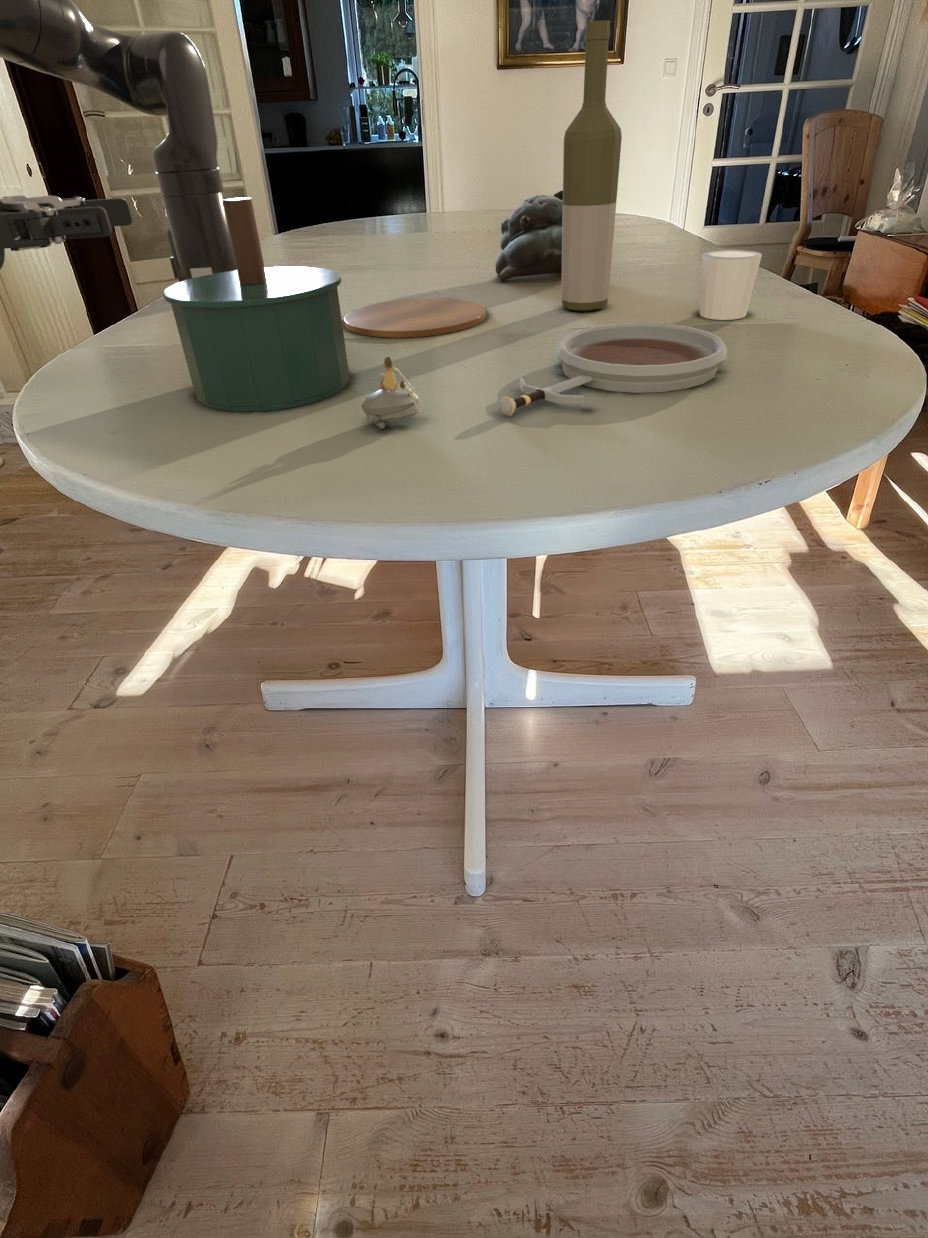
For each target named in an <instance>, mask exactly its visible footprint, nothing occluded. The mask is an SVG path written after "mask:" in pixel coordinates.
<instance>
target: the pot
mask: <svg viewBox="0 0 928 1238" xmlns="http://www.w3.org/2000/svg"><path fill="white" fill-rule="evenodd" d="M339 297H340V296H339V291H338V286H337V287H336V288H334V289H332V290H329V291H327V292H324V293H321V294H318V295H314V296H310V297H306V298H302V299H297V300H292V301H286V302H280V303H273V304H265V305H256V306H245V307H228V308H197V307H186V306H179V305H174V304H171V303H170V305H171V309H172V312H173V317H174V320H175V324H176V327H177V331H178V335H179V339H180V343H181V346H182V350H183V353H184V358H185V361H186V364H187V368H188V372H189V377H190V380H191V384H192V387H193V392H194V395H195V396H196V398H197V400H198V402H200V404H201V405H204V406H206V407H207V408H211V409H215V410H220V411H224V412H225V411H226V412H237V413H250V412H251V413H256V412H270V411H277V410H278V411H279V410H285V409H291V408H297V407H301V406H305V405H309V404H314V403H316V402H319V401H322V400H325V399H327V398H329V397H332V396H333V395H336V394H338V393H339V392H340V391H342V390H343V389H344V388H346V387H347V385H348V383H349V380H350V371H349V364H348V355H347V350H346V341H345V334H344V326H343V320H342V313H341V305H340V299H339Z"/></svg>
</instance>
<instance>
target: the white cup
mask: <svg viewBox="0 0 928 1238" xmlns="http://www.w3.org/2000/svg"><path fill="white" fill-rule="evenodd" d="M762 256H763V254H762V253H761V252H759V251H754V250H748V249H747V250H746V249H718V250H711V251H706V252H704V253H702V257H701V259H702V260H701V276H700V277H701V280H700V297H699V299H700V300H699V317H702V318H705V319H710V320H716V321H717V320H719V321H720V320H721V321H731V320H739V319H743V318H745V317H747V313H748V309H749V305H750V302H751V298H752V294H753V291H754V286H755V283H756V279H757V276H758V271H759V268H760V263H761V260H762V258H763V257H762Z"/></svg>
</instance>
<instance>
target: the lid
mask: <svg viewBox="0 0 928 1238" xmlns="http://www.w3.org/2000/svg"><path fill="white" fill-rule="evenodd" d="M252 199H253V198H252V197H245V196H244V197H232V198H225V199H224V200H222V202H223V207H224V211H225V216H226V221H227V226H228V230H229V235H230V240H231V245H232V249H233V254H234V259H235V264H236V268H237V271H229V272H222V273H216V274H210V275H205V276H200V277H196V278H192V279H188V280H185V281H182V282H179V281H178V282H175V283H173V284H172V285H169V286H167V287H166V288H165V289H164V290H163V291H162V296H163V299H164V301H165V302H167V303H168V304H170V305H171V304H174V305H179V306H186V307H197V308H228V307H245V306H256V305H265V304H273V303H280V302H286V301H292V300H297V299H302V298H306V297H310V296H314V295H318V294H321V293H324V292H327V291H329V290H332V289H334V288H336V287H337V288H338V287H339V286H340V285H341V283H342V277H341V274H340V273H339V272H338V271H335V270H332V269H328V268H322V267H313V266H273V267H271V266H270V267H265V263H264V257H263V252H262V247H261V241H260V236H259V231H258V225H257V220H256V215H255V210H254V205H253V200H252Z"/></svg>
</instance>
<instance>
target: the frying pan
mask: <svg viewBox="0 0 928 1238" xmlns="http://www.w3.org/2000/svg"><path fill="white" fill-rule="evenodd" d="M555 351H556V357H557V358H558V360H559V361H560V363H561V367H562V372H563V374H564V375H565V376H566V377H567V378H568V379H566V380H564V381H560V382H557V383H555V384H552V385H549V386H546V387H543V388H540V387H536V386H532V385H529V384H526V382H525V380H524V378H522V377H519V388H520V390H521V392H522V395H520V396H519V397H516V398H511V397H509V396H503V397H501V400H500V401H499V403H498V410H499V411H500V413H501V414H503V415H505V416H506V417H511V416H512V415H514V413H515V411H516V409H518V408H520V407H524V406H528V405H529V404H531V403H534V402H537V401H540V400H542V401H547V402H550V403H553V404H556V405H561V406H562V405H563V406H581V407H584V406H586V395H577V394H561V393H562V392H567V391H569V390H571V389H575V388H577V387H580V386H585V387H588V388H593V389H596V390H597V389H598V390H603V391H608V392H619V393H632V394H642V393H643V394H644V393H645V394H647V393H667V392H674V391H681V390H682V391H683V390H686V389H690V388H693V387H694V388H695V387H698V386H701V385H704V384H705V383H707V382H709V381H710V380H712V379H714V377H715V376H716V373H717V371H718V368H719V367H720V365H721V364H722V363H723V362H724V361H725V360H726V357H727V355H728V352H729V351H728V349H727V346H726V344H725V343H724V341H723V340H722V339H721V337H720V336H718V335H716V334H714V333H711V332H710V331H707V330H703V329H699V328H695V327H691V326H688V325H687V326H686V325H678V324H671V323H658V322H655V323H654V322H627V323H625V322H624V323H612V324H603V325H595V326H592V327H587V328H583V329H579V330H576V331H574V332H572V333H569V334H566V336H564V337H563V338H562V340H560V341H559V342H558V345H557V347H556V349H555Z"/></svg>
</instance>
